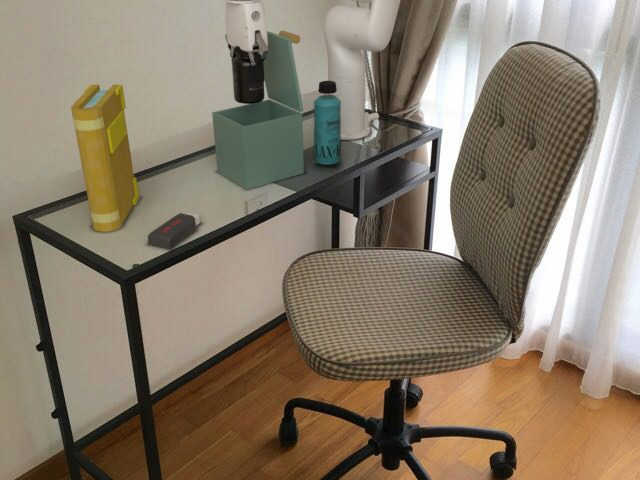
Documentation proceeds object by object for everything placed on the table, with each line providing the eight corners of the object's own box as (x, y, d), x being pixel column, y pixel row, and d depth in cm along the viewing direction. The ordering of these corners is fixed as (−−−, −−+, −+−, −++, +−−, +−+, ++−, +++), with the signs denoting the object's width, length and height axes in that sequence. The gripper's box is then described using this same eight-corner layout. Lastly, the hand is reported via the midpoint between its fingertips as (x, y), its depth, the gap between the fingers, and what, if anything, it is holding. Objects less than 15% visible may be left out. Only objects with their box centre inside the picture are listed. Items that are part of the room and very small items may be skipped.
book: (109, 197, 174) (89, 84, 160) (139, 197, 174) (122, 84, 160) (87, 231, 160) (64, 110, 146) (120, 231, 159) (100, 110, 146)
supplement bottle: (260, 105, 171) (257, 49, 165) (230, 103, 173) (226, 47, 166) (268, 96, 177) (265, 41, 171) (239, 94, 178) (235, 40, 172)
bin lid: (287, 39, 166) (308, 31, 168) (253, 28, 175) (274, 20, 177) (300, 112, 176) (320, 103, 178) (268, 98, 185) (287, 89, 188)
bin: (247, 189, 176) (243, 127, 169) (217, 171, 186) (211, 112, 178) (303, 173, 184) (302, 113, 176) (272, 156, 193) (269, 99, 186)
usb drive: (148, 244, 154) (146, 231, 153) (183, 220, 163) (181, 208, 162) (170, 249, 152) (168, 236, 151) (204, 224, 161) (202, 212, 160)
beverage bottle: (308, 166, 188) (306, 82, 177) (327, 158, 192) (326, 76, 181) (328, 173, 184) (327, 87, 173) (347, 165, 188) (347, 81, 177)
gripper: (281, -4, 159) (284, 85, 168) (236, -15, 171) (242, 68, 180) (249, 1, 155) (254, 91, 165) (206, -11, 167) (214, 73, 176)
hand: (248, 78), depth 172 cm, fingers closed on supplement bottle, 6 cm apart
